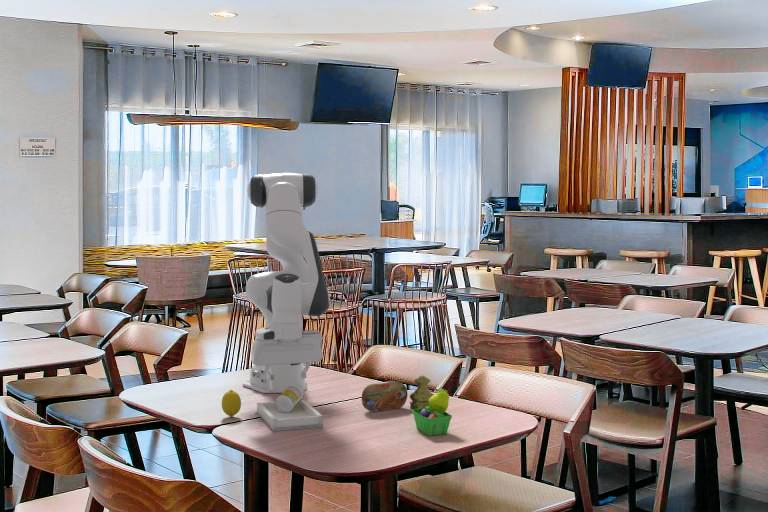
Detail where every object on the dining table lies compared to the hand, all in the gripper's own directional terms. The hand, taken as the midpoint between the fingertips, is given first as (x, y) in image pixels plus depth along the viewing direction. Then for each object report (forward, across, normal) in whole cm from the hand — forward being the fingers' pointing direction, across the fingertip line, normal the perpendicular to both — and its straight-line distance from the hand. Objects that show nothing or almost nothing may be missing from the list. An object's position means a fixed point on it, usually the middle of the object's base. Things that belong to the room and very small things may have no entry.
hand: (287, 378), depth 263 cm
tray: (+11, 0, +3) cm, 12 cm away
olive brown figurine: (+11, -40, +3) cm, 42 cm away
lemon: (+12, +15, -6) cm, 20 cm away
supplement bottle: (+8, +1, -1) cm, 8 cm away
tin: (+12, -30, 0) cm, 32 cm away
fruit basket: (+11, -34, +27) cm, 45 cm away
